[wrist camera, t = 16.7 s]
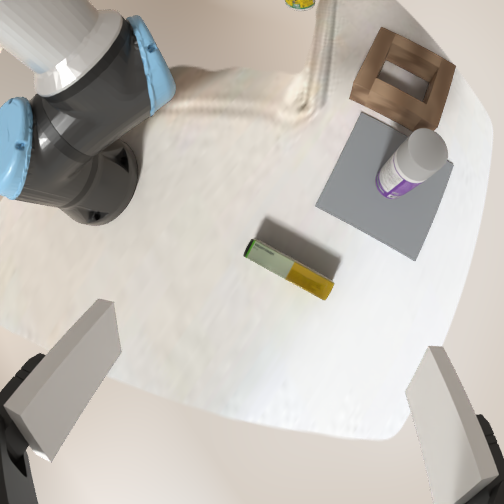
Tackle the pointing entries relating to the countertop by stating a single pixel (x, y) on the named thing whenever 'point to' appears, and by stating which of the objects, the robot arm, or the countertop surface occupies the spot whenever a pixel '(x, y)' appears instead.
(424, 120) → the walnut box
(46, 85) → the robot arm
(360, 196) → the grey mat
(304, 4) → the supplement bottle
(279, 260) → the medication box
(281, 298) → the countertop surface
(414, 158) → the container
